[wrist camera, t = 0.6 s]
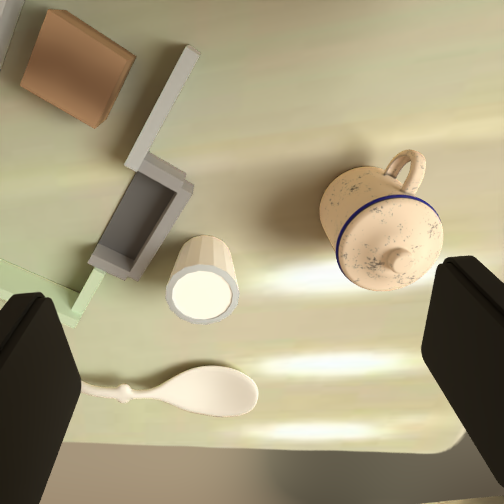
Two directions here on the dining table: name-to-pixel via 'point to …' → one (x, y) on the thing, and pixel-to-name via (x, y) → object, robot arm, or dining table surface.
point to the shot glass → (203, 282)
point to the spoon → (193, 391)
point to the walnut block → (76, 68)
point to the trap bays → (142, 219)
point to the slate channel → (66, 300)
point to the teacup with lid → (382, 224)
